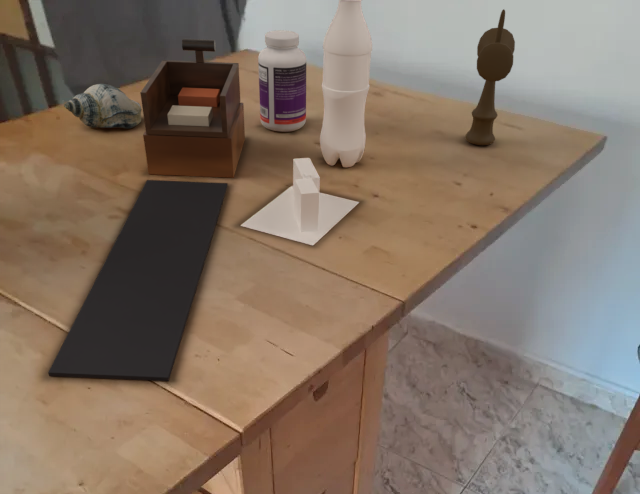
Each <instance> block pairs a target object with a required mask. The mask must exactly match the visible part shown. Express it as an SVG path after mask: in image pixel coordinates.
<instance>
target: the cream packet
mask: <svg viewBox="0 0 640 494" xmlns="http://www.w3.org/2000/svg"><path fill="white" fill-rule="evenodd" d="M167 115H168V124H169V125H185V126H209V125H210V123H211V120H212V118H213V112H212V107H200V106H176V105H172V107H171V109H170V111H169V113H168V114H167Z"/></svg>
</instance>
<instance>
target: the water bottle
mask: <svg viewBox="0 0 640 494" xmlns="http://www.w3.org/2000/svg"><path fill="white" fill-rule="evenodd" d="M362 9H363V8H362V0H338V4H337V8H336V12H335V14H334V15H333V18H332V19H331V22H330V24H329V26H328V28H327V30H326V32H325V35H324V38H323V43H322V49H323V60H322V82H321V90H322V97H323V118H322V125H321V130H320V134H319V146H320V151H321V154H322V157H323V159H324V161H325V163H326V164H327V165H329V166H331V167H333V166H334V165H336V163H337V162H338V160H340V163H341V165H342V167H343V168H351V167H353V166H354V165H356V163H360V161H361V159H362V158H363V156H364V152H365V148H366V139H367V134H366V127H365V111H366V103H367V98H368V94H369V90H370V87H371V85H370V74H371V73H370V72H371V59H372V52H373V40H372V35H371V32H370V29H369V26H368V24H367V21H366V19H365V16H364V14H363V10H362Z"/></svg>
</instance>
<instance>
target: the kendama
mask: <svg viewBox="0 0 640 494" xmlns="http://www.w3.org/2000/svg"><path fill="white" fill-rule="evenodd" d="M505 21H506V10H505V8H504V9H502V10H501V12H500V15H499V20H498V23H497V27H492V28H490V29H487V30H486V31H484V32H483V34H482V35H481V37H480V38H479V41H478V42H477V43H478V44H477V48H476V55H477V58H476V70H477V73H478V76H480V77H481V78H482V79H483V80H484V81H485V82H484V85H483V88H482V91H481V94H480V97H479V100H478V102H477V105H476V107H475V108H474V109H473V110H471V117H472V123H471V126H470V129H469V130H468V131H467V133H466V134H465V140H466V141H467V143H469V144H472V145H476V146H489V145H492V144H493V143H494V142H495V140H496V138H495V137H496V136H495V134H494V122H495V120H496V119H497V117H498V112H497V110H496V105H495V102H496V101H495V99H496V97H495V95H496V82H500V81H502V80H504V79H506V78H507V77H508V75H509V74H510V73H511V70H512V68H513V66H514V52H515V47H516V41H515V37H514V35H513V33H512V32H511V31H510V30H508V29H507V28H504V26H505Z"/></svg>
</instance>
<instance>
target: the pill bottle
mask: <svg viewBox="0 0 640 494" xmlns="http://www.w3.org/2000/svg"><path fill="white" fill-rule="evenodd" d="M264 43H265V46H266V47H265V48H263V49H261V50H260V52H259V54H258V57H257V62H258V64H257V65H258V67H257V68H258V85H259V86H258V91H259V94H258V95H259V117H260V118H259V119H260V120H259V121H260V123H261V125H262V126H263V127H264V128H266V129H267V130H269V131H275V132H281V133H282V132H283V133H287V132H289V133H290V132H294V131H297V130H299V129H302V128H303V127H304V126H305V124H306V122H307V56H306V54H305V51H303V50H302V49H301V48H299V47H298V46H299V45H300V35H299V33H298V32H296V31H292V30H286V29H285V30H284V29H283V30H281V29H280V30H271V31H267V32H266V33H265V34H264Z"/></svg>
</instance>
